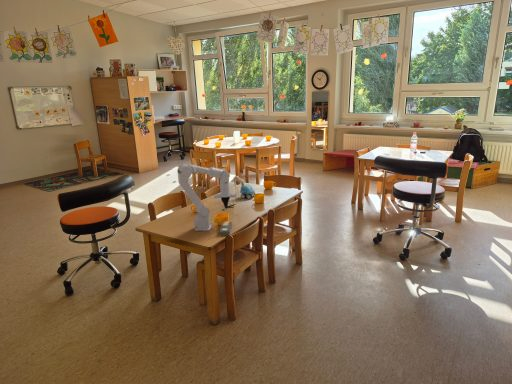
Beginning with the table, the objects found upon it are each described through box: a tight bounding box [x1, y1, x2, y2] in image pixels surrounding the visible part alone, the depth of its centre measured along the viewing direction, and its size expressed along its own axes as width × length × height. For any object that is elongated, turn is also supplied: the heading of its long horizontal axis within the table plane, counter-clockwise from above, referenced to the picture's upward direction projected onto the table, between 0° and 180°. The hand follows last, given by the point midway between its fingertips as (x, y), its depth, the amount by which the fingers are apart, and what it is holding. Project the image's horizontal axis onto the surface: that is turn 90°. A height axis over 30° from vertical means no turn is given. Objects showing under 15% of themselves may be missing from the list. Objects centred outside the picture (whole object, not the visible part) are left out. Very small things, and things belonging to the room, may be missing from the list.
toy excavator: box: [233, 175, 256, 200], centre depth 278 cm, size 9×17×17 cm, turn 64°
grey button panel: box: [219, 221, 233, 236], centre depth 217 cm, size 6×15×2 cm, turn 178°
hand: (226, 208), depth 226 cm, fingers closed
